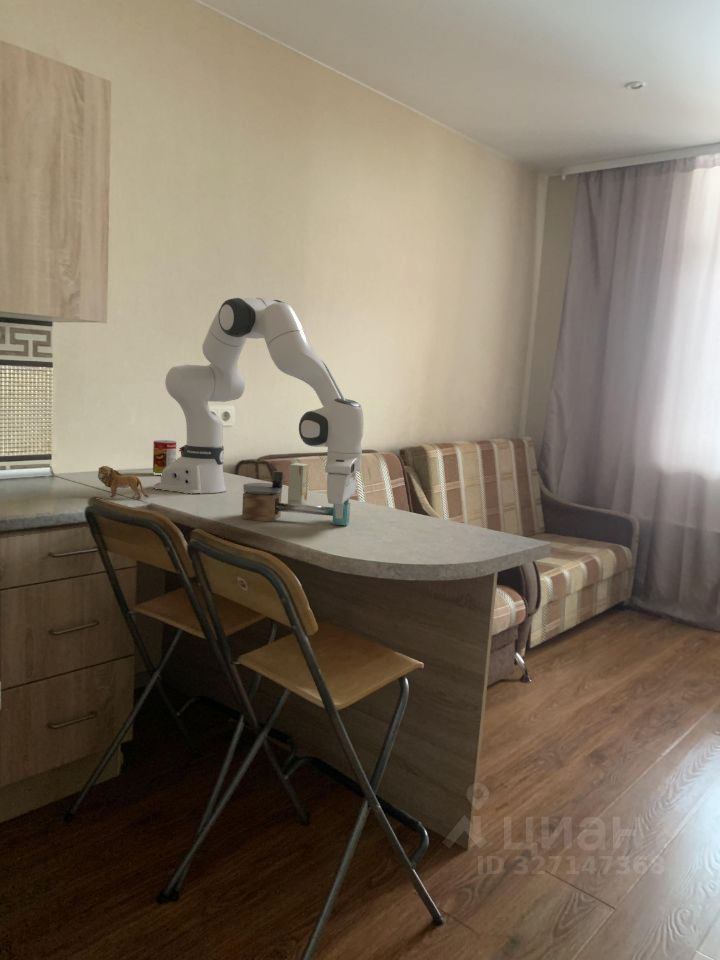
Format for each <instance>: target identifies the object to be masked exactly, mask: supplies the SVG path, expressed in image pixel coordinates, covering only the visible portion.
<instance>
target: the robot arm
mask: <svg viewBox="0 0 720 960" xmlns="http://www.w3.org/2000/svg"><path fill="white" fill-rule="evenodd" d="M247 339H264V341H265V344H266V348H267V350H268V352H269V355H270V358H271V360H272V362H273V363H274V365H275V366H276V368H277V369H278V371H280V372H282V373H284V374H286V375H287V376H290V377H293V378H295V379H298V380H300V381H301V382H304V383H305V384H306V385H308V386H309V387H311V388H312V389H313V391H314V392H315V394H316V395H317V397H318V399H319V401H320V403H321V405H322V407H320V408H316V409H313V410H308V411H307V412H305V413H304V414H303V415H302V416H301V418H300V420H299V423H298V434H299V437H300V440H301V441H303V443H304V444H305V445H306V446H310V447H314V448H315V447H316V448H321V447H322V448H326V447H327V453H326V454H327V455H326V462H325V465H324V467H325V468H324V472H325V473H327V475H326V497H327V501H328V504H331V505H333V504H335V511H336V514H335V517H336V518H339V519H341V518H342V517H343V512H344V511H343V505H344V502H345V503H350V498H351V497H352V496H353V495H354V494H355V493H356V490H357V472H361V471H362V461H363V460H362V458H363V457H362V456H363V449H362V439H363V436H364V412H363V406H362V404H360V403H359V402H357V401H355V400H352V399H347V398H344V395H343V394H342V392H341V390H340V388H339V386H338V384H337V382H336V380H335V379H334V377H333V374H332V373H331V371H330V369H329V367H328V366H327V365H326V363H325V361H324V360H322V359H321V358H320V356H319V355H318V353H317V352H316V351H315V349H314V347H313V345H312V344H311V342H310V340H309V338H308V335H307V333H306V330H305V328H304V326H303V324H302V322H301V320H300V318H299V316H298V315H297V313H296V312H295V310H294V309H293V307H292V306H291V305H290V304H288V303H286V302H284V301H281V300H277V299H267V298H263V297H261V298H260V297H255V298H253V297H251V298H249V297H248V298H247V297H246V298H240V297H234V298H228V299H226V300H225V301H224V302H223V303H222V304H221V306H220V308H219V309H218V311H217V312H216V314H215V316H214V318H213V319H212V321H211V324H210V326H209V329H208V331H207V332H206V336H205V338H204V341H203V343H202V354H203V355H204V358H205V359H206V360H207V361H208V362H209V364H208V365H199V364H198V365H197V364H184V365H181V364H180V365H176V366H173V367H171V368H170V369H169V370H168V372H167V373H166V375H165V376H166V377H165V380H164V382H165V384H164V385H165V389H166V391H167V392H168V394H169V396H170V397H171V398H172V399H174V401H176V402H177V404H178V405H179V406H180V408H181V410H182V412H183V415H184V417H185V418H184V419H185V426H186V427H185V428H186V444H185V445H183V446H180V447H178V449H179V450H178V452H180V456H179V457H178V458H176V460H175V461H174V462H172V463H171V464H170V465H168V466H167V467H166V468H165V469H164V470H163V472H162V476H160V482H157V483H155V484H154V485H153V488H157V489H163V490H162V491H164V490H170V491H169V492H172V491H178V492H177V493H180V492H185V493H184V494H188V493H200V494H214V493H222V492H226V491H227V487H226V483H225V478H224V467H223V464H224V460H225V452H224V449H225V447H224V446H223V443H224V442H223V439H224V423H223V421H222V420H221V418H220V417H219V416H217V415H216V414H215V413H213V412H212V411H211V410H210V407H209V402H215V403H216V402H221V403H224V402H231V401H235V400H239V399H240V398H241V397H242V395H243V394H244V392H245V387H246V380H245V378H244V376H243V374H242V372H241V371H240V370H239V369H238V361H239V357H240V356H241V353H242V350H243V348H244V346H245V344H246V343H247Z"/></svg>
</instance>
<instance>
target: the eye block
mask: <svg viewBox="0 0 720 960" xmlns="http://www.w3.org/2000/svg"><path fill="white" fill-rule="evenodd" d="M277 503H282V493H280V494H275V495H257V494H249V493H245V492H243V493H242V511H241V513H242V515H241V518H242V519H241V520H247V519H248V520H250V521H258V522H259V521H261V522H270V521H272V522H274V521H276V520H277V519H279V518H280V517H281V514H282V512H281V511H277V510H276V506H277ZM278 517H279V518H278Z"/></svg>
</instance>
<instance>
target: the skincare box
mask: <svg viewBox="0 0 720 960" xmlns="http://www.w3.org/2000/svg"><path fill="white" fill-rule="evenodd" d="M288 466H289V467H288V468H289V469H288V489H287V504H298V505H308V486H309V466H310V465H309V463H300V462H295V463H292V464H289V465H288Z"/></svg>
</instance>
